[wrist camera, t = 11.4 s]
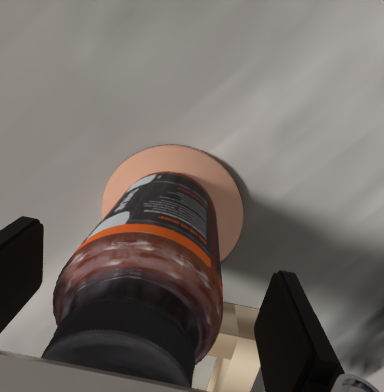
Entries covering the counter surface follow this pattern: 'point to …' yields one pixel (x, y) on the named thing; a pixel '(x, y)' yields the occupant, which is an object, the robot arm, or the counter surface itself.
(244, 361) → the pocket holder
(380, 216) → the counter surface
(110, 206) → the coaster
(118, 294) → the supplement bottle
